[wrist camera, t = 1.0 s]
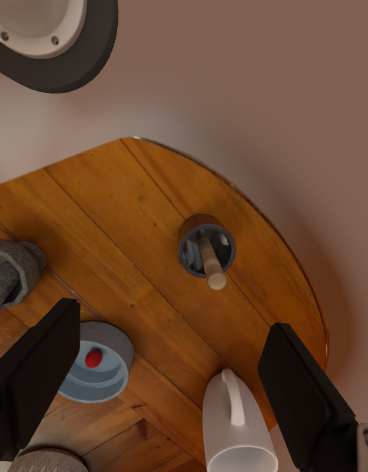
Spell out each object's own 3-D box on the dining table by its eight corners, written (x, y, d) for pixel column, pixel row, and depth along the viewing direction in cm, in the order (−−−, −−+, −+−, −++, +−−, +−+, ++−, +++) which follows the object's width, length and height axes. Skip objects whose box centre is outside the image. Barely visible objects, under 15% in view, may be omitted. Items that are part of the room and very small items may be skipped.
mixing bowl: (45, 337, 38) (26, 360, 34) (109, 308, 37) (98, 328, 32) (88, 385, 42) (76, 412, 38) (147, 361, 41) (143, 386, 36)
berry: (85, 349, 39) (78, 363, 36) (99, 343, 38) (92, 357, 36) (94, 359, 40) (88, 374, 37) (107, 354, 39) (102, 368, 36)
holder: (170, 226, 32) (167, 240, 26) (213, 205, 32) (222, 213, 25) (190, 265, 35) (193, 286, 28) (231, 246, 34) (244, 264, 27)
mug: (195, 351, 40) (203, 431, 28) (251, 346, 40) (283, 424, 28) (200, 403, 45) (208, 493, 32) (249, 399, 45) (277, 488, 32)
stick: (194, 235, 32) (204, 278, 19) (204, 230, 32) (222, 270, 19) (199, 244, 33) (212, 292, 20) (209, 239, 33) (229, 285, 19)
